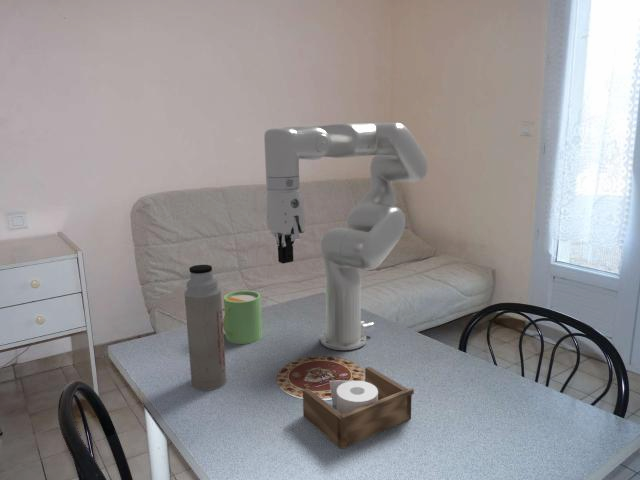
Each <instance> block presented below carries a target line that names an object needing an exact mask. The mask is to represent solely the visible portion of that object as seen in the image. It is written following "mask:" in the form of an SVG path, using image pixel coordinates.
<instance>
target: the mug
mask: <svg viewBox="0 0 640 480" xmlns="http://www.w3.org/2000/svg"><path fill="white" fill-rule="evenodd" d="M261 299H262V298H261V294H260V293H259V292H257V291H255V290H237V291H232V292H229V293H227V294H225V295H224V296H223V309H222V312H223V311H224V315H223V332H224V334H225V338H226V341H227V342H229V343H231V344H236V345H237V344H238V345H245V344H251V343H252V344H253V343H256V342H258V341H259V340H260V339H262V337H263V327H262V326H263V325H262V323H263V322H262V305H261V303H262V300H261Z"/></svg>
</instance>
